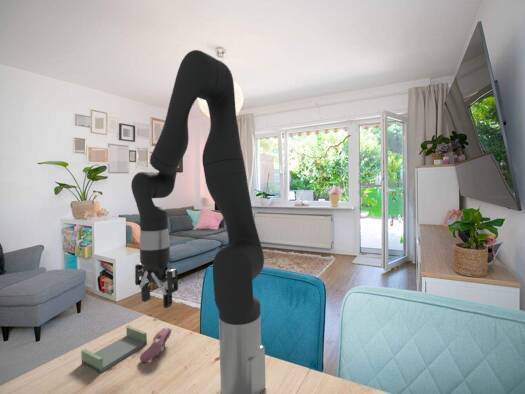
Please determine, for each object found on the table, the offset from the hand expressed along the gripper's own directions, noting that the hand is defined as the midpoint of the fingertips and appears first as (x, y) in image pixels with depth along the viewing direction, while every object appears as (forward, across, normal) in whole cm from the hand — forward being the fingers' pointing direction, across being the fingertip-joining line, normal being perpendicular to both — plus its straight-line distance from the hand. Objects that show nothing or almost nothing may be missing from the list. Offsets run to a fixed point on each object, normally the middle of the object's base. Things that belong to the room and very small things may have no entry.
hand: (156, 303), depth 74 cm
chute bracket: (+14, +10, +6) cm, 18 cm away
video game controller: (+14, 0, 0) cm, 14 cm away
